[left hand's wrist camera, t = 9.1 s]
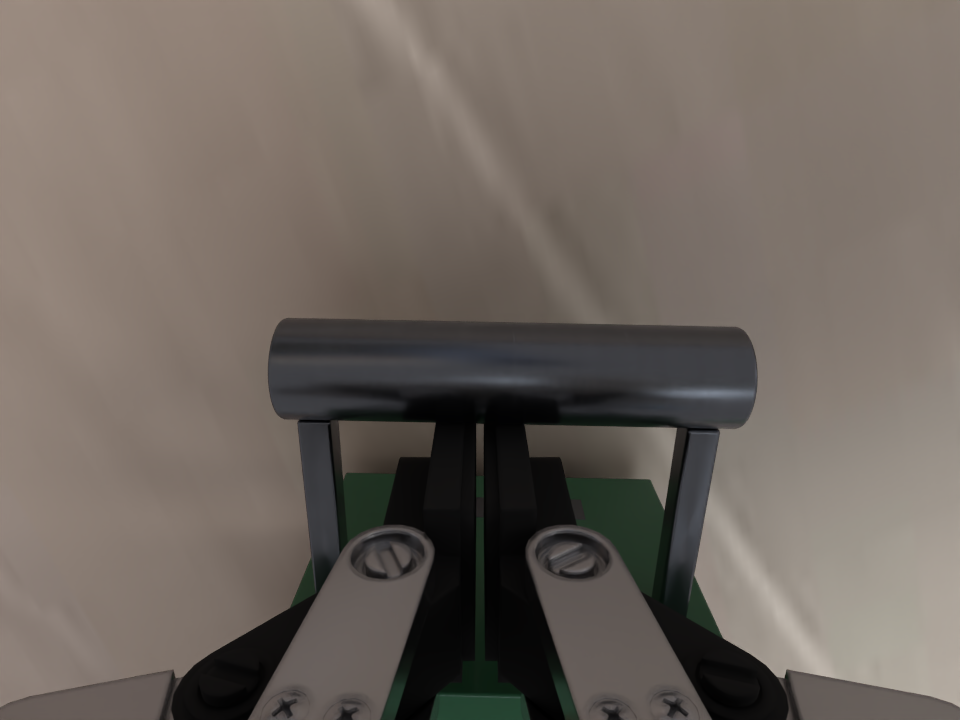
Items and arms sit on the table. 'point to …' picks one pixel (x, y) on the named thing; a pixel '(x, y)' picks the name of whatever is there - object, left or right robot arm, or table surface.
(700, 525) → the drawer
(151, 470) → the table surface
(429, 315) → the table surface
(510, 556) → the left robot arm
